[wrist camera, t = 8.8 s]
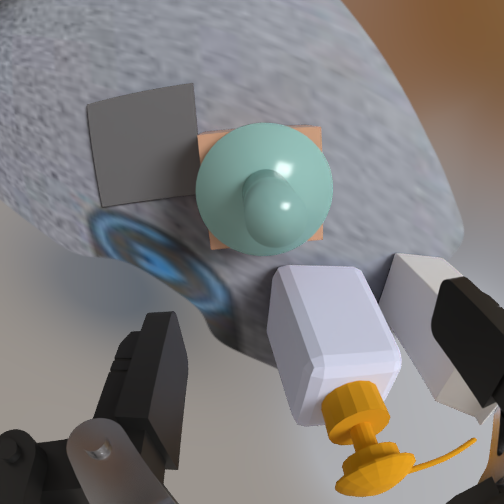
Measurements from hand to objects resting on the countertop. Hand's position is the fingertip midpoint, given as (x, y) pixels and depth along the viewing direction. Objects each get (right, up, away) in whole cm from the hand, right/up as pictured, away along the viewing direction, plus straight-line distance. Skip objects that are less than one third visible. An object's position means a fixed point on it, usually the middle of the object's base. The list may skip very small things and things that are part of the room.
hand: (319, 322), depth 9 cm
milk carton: (+17, -1, +25) cm, 30 cm away
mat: (-12, +11, +17) cm, 24 cm away
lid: (-1, +7, +15) cm, 16 cm away
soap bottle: (+7, -3, +25) cm, 27 cm away
